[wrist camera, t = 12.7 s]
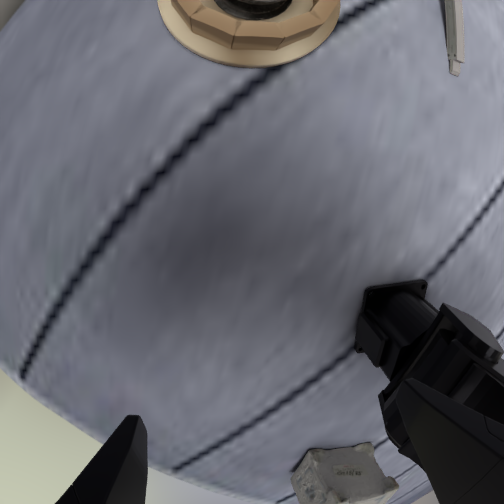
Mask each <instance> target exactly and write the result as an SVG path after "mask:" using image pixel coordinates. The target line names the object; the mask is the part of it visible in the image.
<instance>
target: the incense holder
mask: <svg viewBox="0 0 504 504" xmlns="http://www.w3.org/2000/svg"><path fill="white" fill-rule="evenodd" d="M291 484H292V486H293V489H294V491H295V492H296V496H297V498H298V501H299V503H300V504H385V503H386V502H387V501H388V500H389V499H390V498H391V497H392V495H393V494H394V493H395V492H396V491H397V490H398V489H399V485H398V483H397V482H396V481H395V479H394V478H393V477H391V476H388V477H386V476H385V475H384V473H383V472H382V470H381V468H380V467H379V465H378V464H377V463H376V460H375V458H374V447H373V446H372V444H371V443H362V444H358V445H356V446H355V447H347V448H339V449H332V450H323V449H312V450H309V451H308V453H307V454H306V455H305V458H304V459H303V461H302V462H301V464H300V465H299V467H298V468H297V470H296V471H295V472H294V474H293V476H292V477H291Z"/></svg>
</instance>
